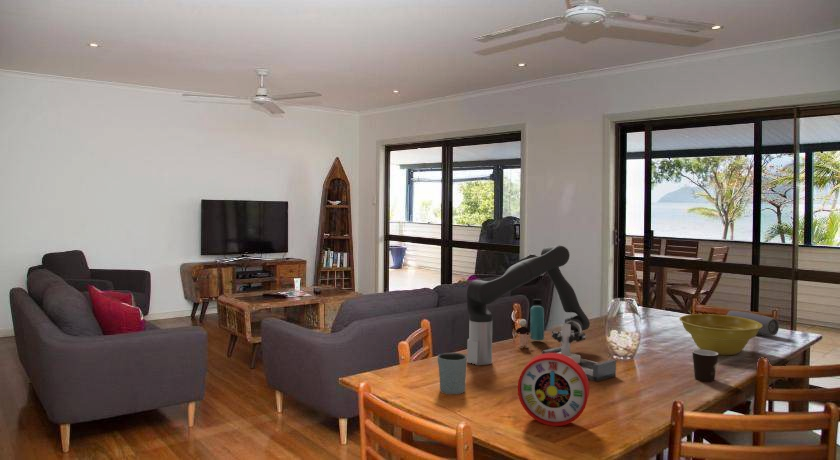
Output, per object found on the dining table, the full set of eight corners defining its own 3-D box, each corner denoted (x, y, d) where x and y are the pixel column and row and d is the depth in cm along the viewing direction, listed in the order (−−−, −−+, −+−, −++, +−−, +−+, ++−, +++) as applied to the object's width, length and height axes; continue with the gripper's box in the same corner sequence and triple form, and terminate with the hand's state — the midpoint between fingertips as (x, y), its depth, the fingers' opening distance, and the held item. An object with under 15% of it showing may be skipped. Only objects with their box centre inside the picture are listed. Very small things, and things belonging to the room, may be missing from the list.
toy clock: (517, 421, 174) (517, 354, 173) (520, 414, 179) (521, 349, 178) (586, 430, 167) (588, 361, 166) (588, 423, 172) (589, 356, 171)
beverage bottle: (544, 343, 268) (544, 300, 267) (529, 343, 269) (530, 300, 268) (544, 340, 275) (544, 298, 274) (529, 339, 276) (530, 297, 275)
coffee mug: (707, 384, 209) (708, 356, 209) (686, 377, 217) (687, 351, 216) (728, 379, 215) (729, 352, 214) (707, 373, 222) (707, 347, 222)
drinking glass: (457, 397, 195) (458, 361, 194) (431, 391, 200) (432, 357, 199) (471, 388, 203) (472, 354, 203) (446, 384, 209) (446, 350, 208)
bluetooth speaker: (724, 329, 300) (724, 310, 300) (736, 327, 304) (737, 308, 303) (766, 338, 279) (767, 318, 279) (779, 337, 283) (779, 316, 283)
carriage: (567, 366, 225) (567, 327, 224) (550, 361, 231) (551, 324, 230) (580, 362, 229) (580, 324, 229) (563, 358, 236) (564, 321, 235)
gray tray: (597, 381, 212) (597, 365, 212) (542, 365, 233) (542, 350, 232) (615, 376, 218) (615, 360, 218) (560, 361, 239) (560, 346, 239)
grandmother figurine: (527, 345, 265) (528, 317, 264) (532, 347, 261) (532, 319, 261) (512, 346, 262) (512, 318, 262) (516, 349, 259) (517, 320, 258)
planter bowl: (744, 366, 233) (745, 332, 232) (665, 350, 257) (666, 320, 257) (773, 352, 254) (774, 321, 254) (697, 339, 278) (698, 311, 278)
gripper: (554, 320, 245) (546, 328, 230) (589, 323, 240) (583, 332, 224) (553, 338, 246) (546, 347, 230) (588, 341, 240) (583, 351, 224)
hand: (564, 339), depth 227 cm, fingers closed on carriage, 3 cm apart
